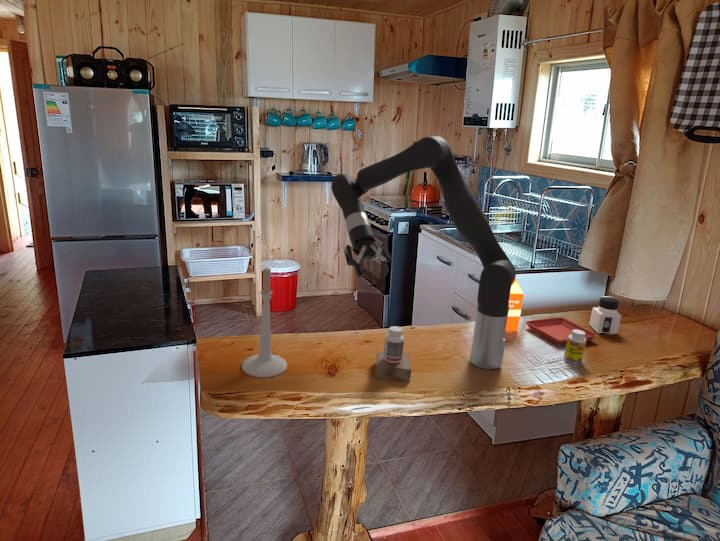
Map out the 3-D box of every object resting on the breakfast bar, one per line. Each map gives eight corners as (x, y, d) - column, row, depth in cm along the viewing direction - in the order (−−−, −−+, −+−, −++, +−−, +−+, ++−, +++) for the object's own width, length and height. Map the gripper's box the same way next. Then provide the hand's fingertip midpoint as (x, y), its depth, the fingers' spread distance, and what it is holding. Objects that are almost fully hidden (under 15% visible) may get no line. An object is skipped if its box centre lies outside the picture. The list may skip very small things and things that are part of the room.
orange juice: (498, 332, 191) (506, 279, 185) (487, 322, 199) (495, 271, 193) (517, 331, 193) (526, 279, 187) (506, 322, 201) (515, 272, 195)
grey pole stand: (287, 377, 148) (291, 275, 139) (240, 377, 146) (241, 274, 137) (286, 356, 160) (290, 261, 151) (243, 356, 158) (244, 260, 149)
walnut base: (408, 365, 160) (410, 353, 159) (409, 382, 150) (411, 369, 149) (375, 362, 160) (377, 350, 159) (374, 378, 151) (376, 366, 149)
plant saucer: (523, 328, 197) (524, 320, 196) (560, 324, 204) (561, 316, 203) (557, 349, 181) (559, 340, 180) (596, 343, 188) (598, 335, 187)
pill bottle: (405, 361, 153) (409, 330, 151) (390, 365, 150) (394, 333, 148) (394, 354, 158) (397, 323, 155) (379, 357, 155) (382, 326, 152)
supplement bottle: (564, 362, 170) (570, 333, 167) (563, 355, 176) (569, 327, 173) (582, 365, 169) (588, 336, 166) (581, 358, 174) (587, 330, 171)
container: (617, 335, 197) (625, 302, 193) (596, 333, 196) (604, 300, 193) (608, 327, 204) (615, 295, 200) (588, 325, 204) (595, 293, 200)
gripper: (343, 224, 161) (357, 271, 154) (384, 222, 167) (399, 267, 161) (335, 237, 167) (348, 282, 160) (374, 235, 173) (389, 279, 167)
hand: (373, 275), depth 161 cm, fingers open, 8 cm apart
